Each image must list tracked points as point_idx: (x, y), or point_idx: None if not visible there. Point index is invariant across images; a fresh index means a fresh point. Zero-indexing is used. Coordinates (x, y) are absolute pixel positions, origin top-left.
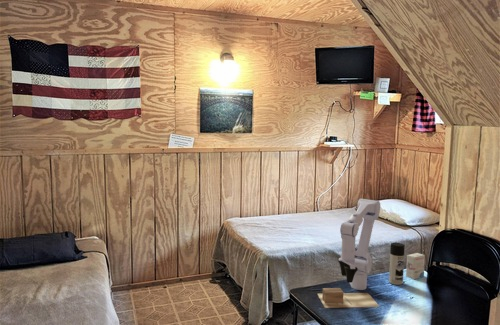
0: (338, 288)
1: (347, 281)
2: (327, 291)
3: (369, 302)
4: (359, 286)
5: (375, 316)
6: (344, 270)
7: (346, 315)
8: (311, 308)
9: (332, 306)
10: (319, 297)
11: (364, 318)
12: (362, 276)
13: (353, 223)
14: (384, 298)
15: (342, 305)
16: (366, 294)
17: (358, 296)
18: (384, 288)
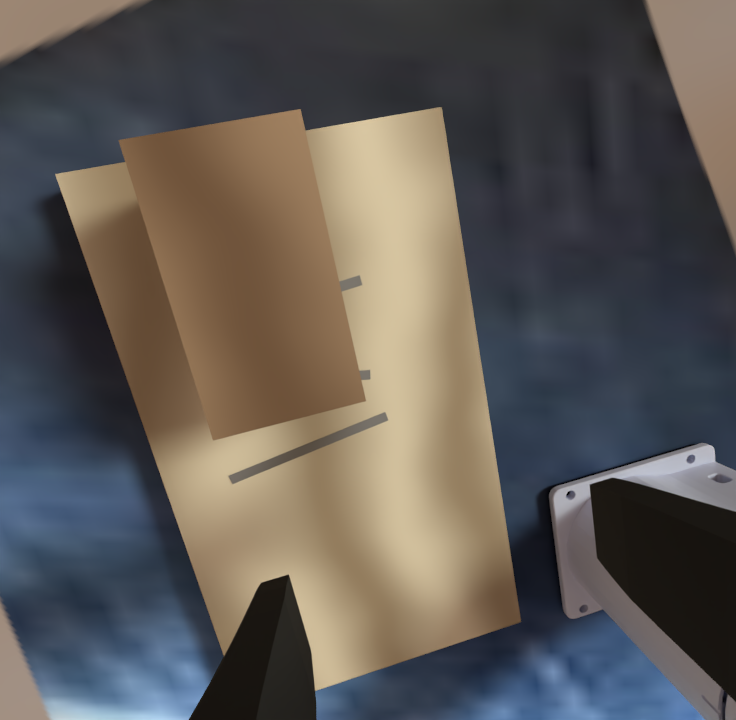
0: (339, 372)
1: (255, 596)
2: (172, 182)
3: (318, 633)
4: (601, 575)
5: (109, 654)
6: (693, 592)
7: (41, 410)
8: (100, 20)
9: (118, 271)
10: (333, 128)
11: (31, 568)
12: (698, 697)
13: None
14: (478, 713)
15: (178, 385)
16: (487, 609)
17: (432, 544)
18: (654, 711)
